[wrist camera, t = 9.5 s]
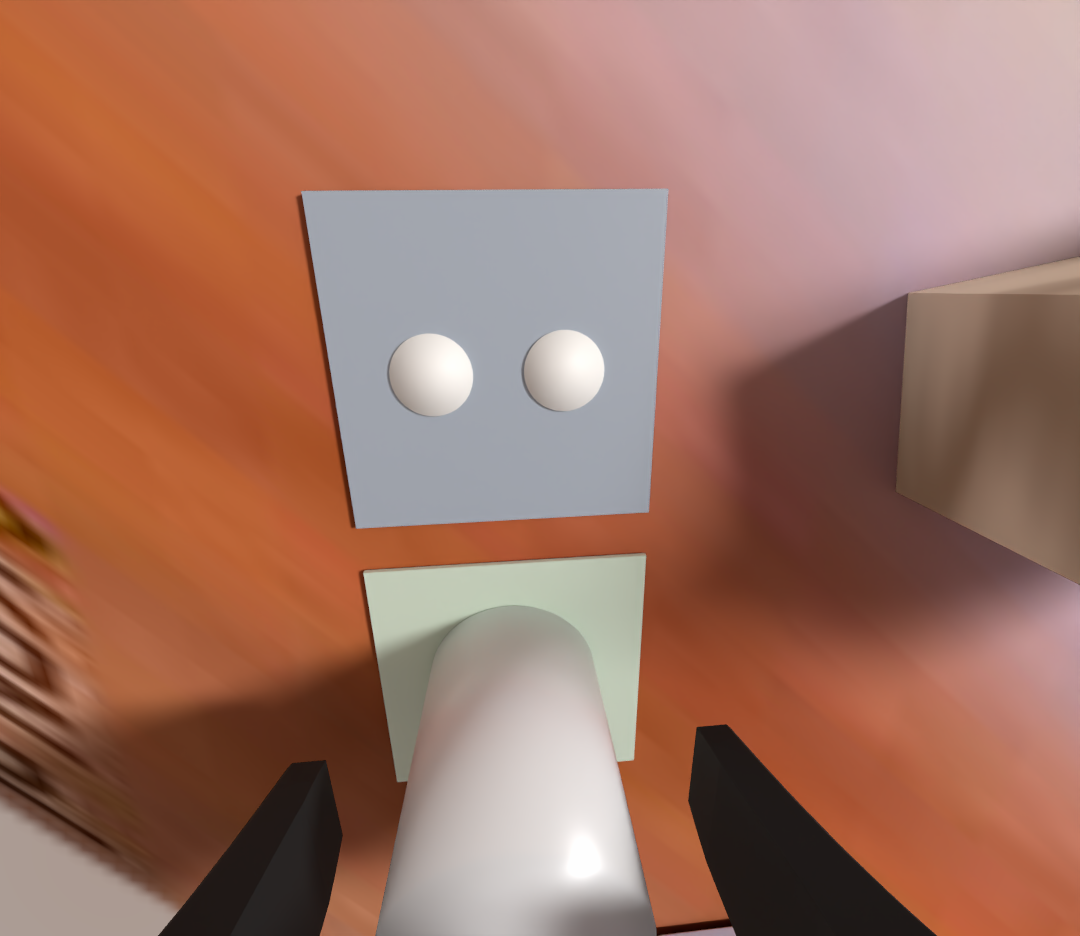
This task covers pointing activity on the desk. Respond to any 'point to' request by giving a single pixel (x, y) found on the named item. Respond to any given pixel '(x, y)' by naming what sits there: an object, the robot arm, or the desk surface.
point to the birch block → (998, 409)
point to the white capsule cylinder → (514, 794)
